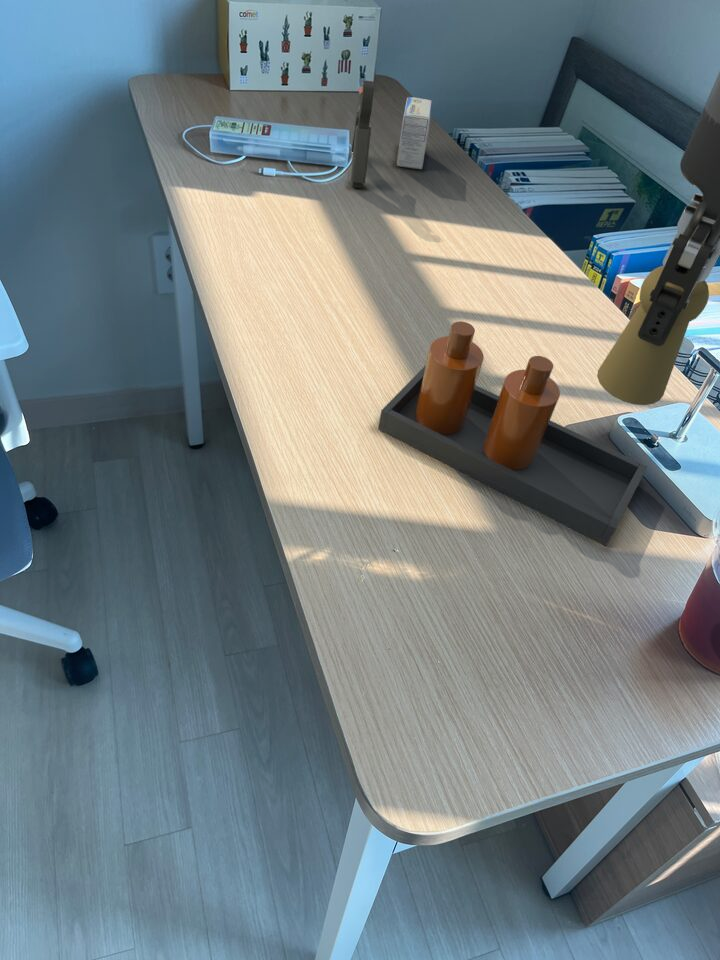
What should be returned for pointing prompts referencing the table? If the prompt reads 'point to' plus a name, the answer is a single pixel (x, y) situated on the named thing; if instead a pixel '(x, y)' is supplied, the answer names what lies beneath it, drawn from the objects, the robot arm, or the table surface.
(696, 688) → the table surface
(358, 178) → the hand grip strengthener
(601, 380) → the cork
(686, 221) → the robot arm
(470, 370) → the amber bottle far
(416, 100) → the medicine box
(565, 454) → the tray
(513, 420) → the amber bottle middle
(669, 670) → the table surface
